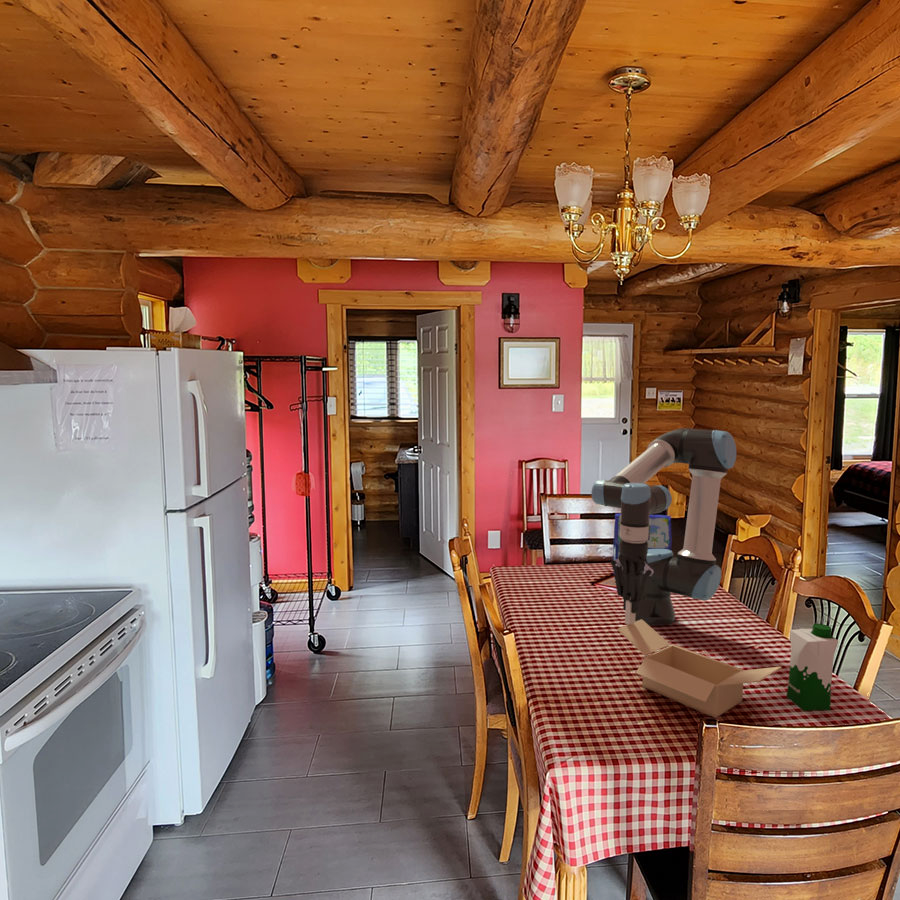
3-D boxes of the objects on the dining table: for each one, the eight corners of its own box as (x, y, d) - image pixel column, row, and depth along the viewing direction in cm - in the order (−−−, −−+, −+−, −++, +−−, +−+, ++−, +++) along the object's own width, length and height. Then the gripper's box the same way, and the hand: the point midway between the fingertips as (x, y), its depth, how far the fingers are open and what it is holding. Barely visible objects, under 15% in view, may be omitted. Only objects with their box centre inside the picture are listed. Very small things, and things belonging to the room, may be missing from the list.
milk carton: (836, 711, 159) (843, 633, 157) (801, 713, 158) (807, 634, 156) (813, 694, 168) (819, 619, 165) (780, 695, 167) (785, 620, 164)
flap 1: (645, 655, 170) (617, 629, 177) (669, 644, 178) (641, 619, 184) (645, 655, 170) (617, 628, 177) (669, 644, 178) (641, 619, 184)
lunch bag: (613, 581, 258) (616, 517, 255) (610, 569, 274) (613, 508, 271) (672, 585, 254) (675, 519, 251) (665, 572, 271) (668, 511, 268)
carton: (632, 691, 168) (634, 661, 167) (678, 668, 182) (680, 640, 181) (706, 724, 153) (708, 691, 152) (750, 695, 166) (752, 665, 165)
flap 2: (719, 683, 155) (758, 680, 147) (742, 670, 162) (781, 666, 155) (720, 685, 155) (759, 681, 147) (743, 671, 162) (781, 667, 155)
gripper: (605, 537, 180) (602, 619, 183) (646, 547, 170) (642, 633, 173) (621, 533, 185) (618, 613, 188) (662, 542, 175) (658, 626, 178)
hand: (630, 622), depth 180 cm, fingers closed
